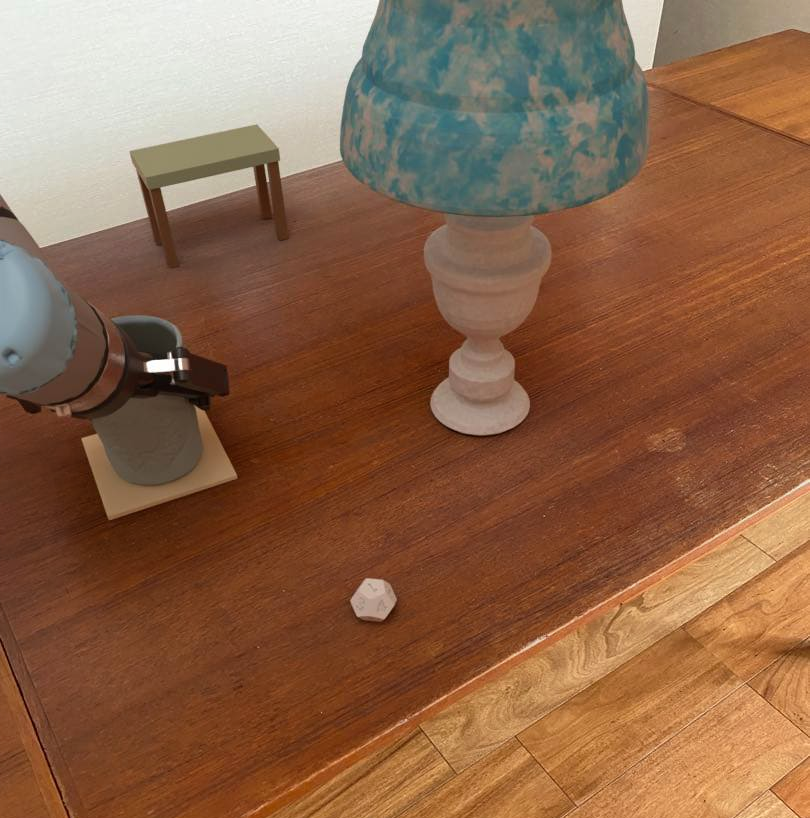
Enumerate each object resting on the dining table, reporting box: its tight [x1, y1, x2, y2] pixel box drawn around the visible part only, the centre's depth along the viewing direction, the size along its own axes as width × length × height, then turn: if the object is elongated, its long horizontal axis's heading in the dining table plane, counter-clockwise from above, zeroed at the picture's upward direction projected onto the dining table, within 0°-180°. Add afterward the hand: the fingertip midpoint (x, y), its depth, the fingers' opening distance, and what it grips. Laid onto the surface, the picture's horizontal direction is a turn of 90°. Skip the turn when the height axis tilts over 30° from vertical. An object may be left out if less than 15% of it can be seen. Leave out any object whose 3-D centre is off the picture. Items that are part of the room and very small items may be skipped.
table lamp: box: [339, 0, 651, 437], centre depth 72 cm, size 24×24×40 cm
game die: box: [349, 577, 398, 623], centre depth 68 cm, size 4×4×3 cm
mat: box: [80, 405, 238, 521], centre depth 82 cm, size 12×12×1 cm
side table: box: [129, 124, 289, 269], centre depth 107 cm, size 8×16×12 cm, turn 115°
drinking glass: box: [91, 314, 203, 485], centre depth 77 cm, size 10×10×12 cm
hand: (149, 400), depth 81 cm, fingers closed on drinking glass, 10 cm apart
